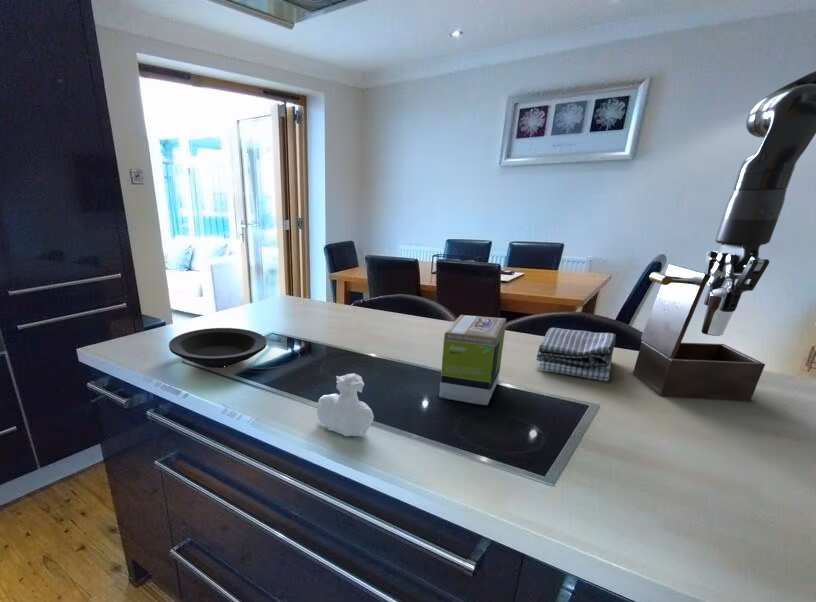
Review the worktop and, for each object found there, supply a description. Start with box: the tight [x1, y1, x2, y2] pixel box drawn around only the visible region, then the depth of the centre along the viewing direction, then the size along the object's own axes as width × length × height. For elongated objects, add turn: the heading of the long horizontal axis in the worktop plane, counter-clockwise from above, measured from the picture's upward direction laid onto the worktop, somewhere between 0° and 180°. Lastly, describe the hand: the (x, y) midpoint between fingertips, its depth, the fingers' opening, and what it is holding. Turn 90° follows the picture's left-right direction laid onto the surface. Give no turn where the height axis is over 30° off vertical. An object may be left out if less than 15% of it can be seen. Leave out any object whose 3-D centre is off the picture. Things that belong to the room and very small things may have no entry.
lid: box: [640, 263, 709, 358], centre depth 90 cm, size 16×13×5 cm
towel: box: [535, 327, 617, 382], centre depth 106 cm, size 15×18×8 cm
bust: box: [316, 372, 375, 437], centre depth 80 cm, size 12×8×11 cm
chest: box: [632, 340, 766, 402], centre depth 93 cm, size 16×13×8 cm
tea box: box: [438, 314, 507, 406], centre depth 93 cm, size 15×10×15 cm
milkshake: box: [700, 284, 734, 337], centre depth 87 cm, size 4×5×10 cm
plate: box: [168, 327, 267, 369], centre depth 116 cm, size 28×24×6 cm
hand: (718, 307), depth 87 cm, fingers closed on milkshake, 4 cm apart
